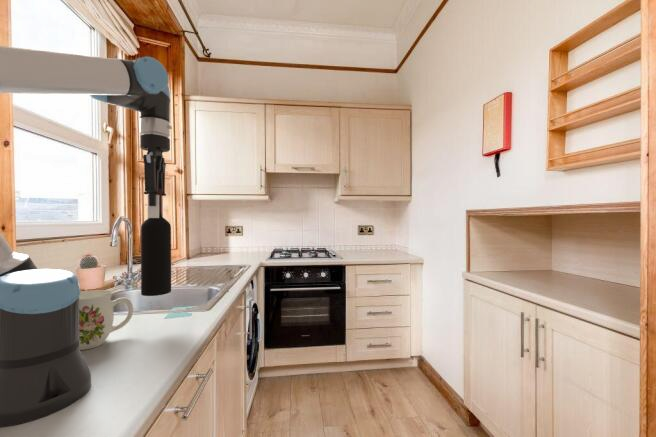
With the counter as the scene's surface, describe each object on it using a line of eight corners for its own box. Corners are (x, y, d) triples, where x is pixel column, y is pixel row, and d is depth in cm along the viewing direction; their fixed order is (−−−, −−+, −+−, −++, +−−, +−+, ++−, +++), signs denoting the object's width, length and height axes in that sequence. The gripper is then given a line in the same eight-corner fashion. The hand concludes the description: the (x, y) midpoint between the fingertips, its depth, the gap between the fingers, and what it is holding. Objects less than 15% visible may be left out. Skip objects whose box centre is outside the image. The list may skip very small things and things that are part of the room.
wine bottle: (136, 296, 84) (136, 187, 84) (146, 290, 91) (146, 189, 91) (167, 295, 86) (166, 187, 85) (174, 289, 93) (173, 190, 93)
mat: (203, 315, 103) (203, 315, 103) (164, 318, 100) (164, 318, 100) (208, 305, 115) (208, 305, 115) (173, 308, 112) (173, 307, 112)
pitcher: (136, 341, 82) (136, 290, 82) (45, 362, 71) (44, 302, 70) (130, 329, 91) (129, 283, 91) (47, 346, 79) (47, 293, 79)
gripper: (162, 129, 81) (162, 218, 81) (175, 143, 97) (176, 217, 97) (129, 127, 79) (130, 218, 79) (149, 142, 95) (149, 217, 95)
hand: (155, 217), depth 88 cm, fingers closed on wine bottle, 3 cm apart
